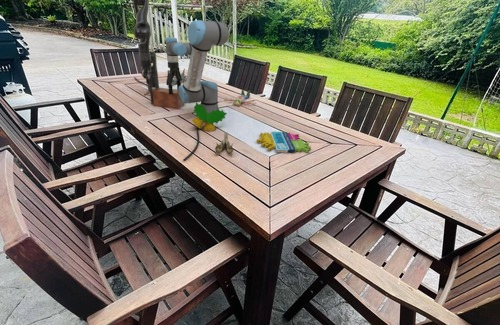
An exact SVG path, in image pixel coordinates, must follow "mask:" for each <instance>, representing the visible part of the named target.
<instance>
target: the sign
mask: <svg viewBox="0 0 500 325" xmlns="http://www.w3.org/2000/svg"><path fill="white" fill-rule="evenodd" d="M299 136H300V135H299V134H298V133H296V134H294V133H291V132H287V131H270V132H264V133H263V132H260V133H259V139H258V138H257V139H256V143H257V144H261V148H263V147H264V148H265V149H267V151H268V152H271V151H272V150H273V149H275V152H276V153H283V154H285V153H287V154H288V153H290V154H293V153H296V152H298V153H301V152H305V153H310V151H311V150H312V149H311V148H312V146H309V142H304V141H303V139H302V138H299Z"/></svg>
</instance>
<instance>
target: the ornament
mask: <svg viewBox="0 0 500 325" xmlns="http://www.w3.org/2000/svg"><path fill="white" fill-rule="evenodd" d="M219 110H220V108H219V109H217V110H216V111H214V110H212V112H211V113H208V112H206V109H204V106H201V103H199V102H195V105H194V106H193V112H194V113H195V118H192V119H191V122H192V123H193V125H195V127H196V128H197V127H198V129H202V130H203V131H206V132H212V131H213V132H214V131H215V130H216V126H215V124H218V123H219V122H223V119H226V115H227V114H228V113H227V112H224V110H223V109H221V110H220V111H219ZM207 113H208V115H207ZM204 121H205V122H204ZM214 123H215V124H214Z"/></svg>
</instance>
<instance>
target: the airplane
mask: <svg viewBox="0 0 500 325" xmlns="http://www.w3.org/2000/svg"><path fill="white" fill-rule="evenodd" d="M185 70H186V68H183V70H182V72H181V77H182V81H181V84H183V82H184V80H186V79H187V75H186V74H185ZM165 77H166V78H167V75H165ZM174 85H177V79H176V77H175V76H174V78H173V81H172V86H174Z"/></svg>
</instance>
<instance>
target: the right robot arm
mask: <svg viewBox="0 0 500 325" xmlns="http://www.w3.org/2000/svg"><path fill="white" fill-rule="evenodd" d="M229 39H230V30H229V28H228V26H227V25H226V24H224V23H223V22H220V21H214V20H213V21H212V20H201V19H198V20H193V21H191V22H190V23H189V25H188V28H187V41H188V42H178V38H177V37H171V36H170V37H169V36H168V37H166V38H165V49H166V59H167V60H166V61H167V68H169V69H168V70H167V75H166V76H167V77H166V82H165V84H166V86H167V87H168V89H169V94H172V95H173V89H174V88H173V85H172V81H173V79H174V77H176V79H177V83H176V90H179V95H180V98H181V100H182V102H183V103H184V104H196V102H197V103H200V104H201V106H204V109H206V112H208V113H211V112H212V110H214V111H216V110H217V109H219V111H221V110H220V108H219V102H218V99H219V98H218V97H219V87H218V84H217V83H216V82H214V81H211V80H202V76H203V72H204V69H205V64H206V60H207V56H208V53H209V52H211V50H212V48H214V47H216V46H217V47H220V46H222V45H225V44H226V43H227V42H228V41H229ZM183 56H190V58H189V63H188V69H187V74H186V76H187V77H186V78H187V79H185V80H184V81H183V82H182V83H181V81H182V77H181V75H182V73H181V71H180V64H179V57H183ZM208 113H207V115H208ZM204 123H205V121H204ZM196 136H197V139H196V140H197V142H196V145H195V147H194V148H193V149H192V151H191V152H190V153H189V154H188V155H187V156H185V157H184V158H183V162H185V161H186V160H188V159H189V158H190V157H191V156H192V155H193V154H194V153H195V152H196V150H197V149H198V147H199V144H200V133H199V128H198V127H197V126H196Z"/></svg>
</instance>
